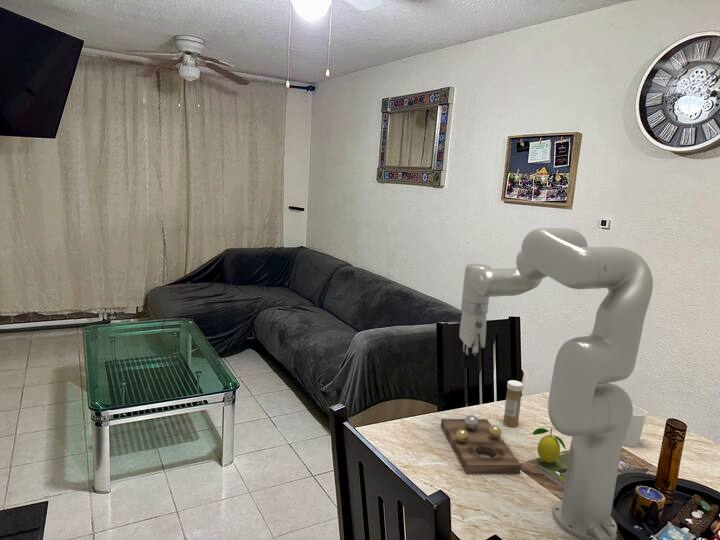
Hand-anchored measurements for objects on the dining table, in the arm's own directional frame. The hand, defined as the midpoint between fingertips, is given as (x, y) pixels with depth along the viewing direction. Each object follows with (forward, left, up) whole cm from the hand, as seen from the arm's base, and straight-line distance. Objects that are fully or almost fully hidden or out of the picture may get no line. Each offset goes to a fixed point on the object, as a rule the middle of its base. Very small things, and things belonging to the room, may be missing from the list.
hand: (467, 366), depth 143 cm
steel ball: (-7, 0, -14) cm, 16 cm away
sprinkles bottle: (+1, -16, -19) cm, 24 cm away
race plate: (-13, 0, -19) cm, 23 cm away
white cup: (-9, -47, -19) cm, 51 cm away
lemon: (-20, -17, -19) cm, 32 cm away
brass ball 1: (-14, +5, -14) cm, 21 cm away
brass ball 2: (-12, -5, -14) cm, 20 cm away
